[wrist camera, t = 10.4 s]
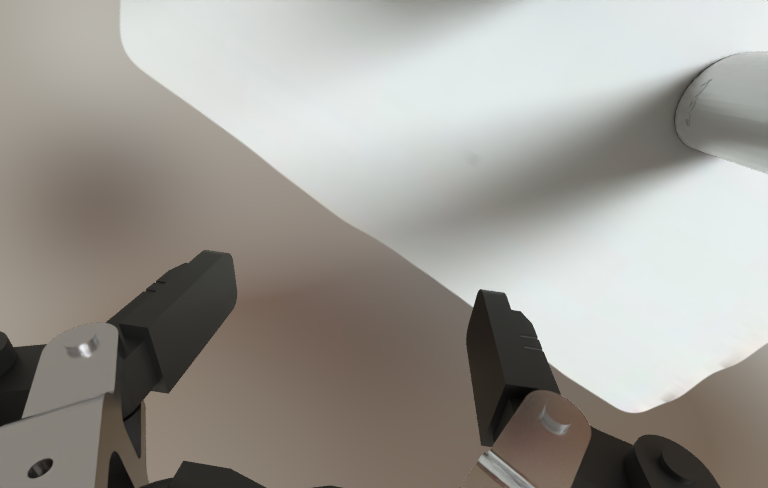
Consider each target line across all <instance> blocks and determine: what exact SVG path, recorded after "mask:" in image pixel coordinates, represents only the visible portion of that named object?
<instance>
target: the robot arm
mask: <svg viewBox="0 0 768 488" xmlns="http://www.w3.org/2000/svg"><path fill="white" fill-rule="evenodd" d="M675 126H676V131H677V134H678V136H679V138H680V139H681V140H682V141H683V143H684V144H686V145H687V146H689V147H690V148H693V149H696V150H699V151H701V152H704V153H707V154H710V155H713V156H716V157H719V158H722V159H724V160H727V161H730V162H733V163H736V164H739V165H742V166H745V167H748V168H751V169H754V170H757V171H760V172H763V173H766V174H768V52H746V53H738V54H735V55H732V56H729V57H726V58H724V59H722V60H720V61H718V62H716V63H714V64H713V65H711V66H710V67H709V68H707V69H706V70H704V71H703V72H702V73H701V74H700V75H699V76H698V77H697V78H696V79H695V80H694V81H693V82H692V83H691V84H690V86H689V87H688V88H687V89H686V91H685V93H684V94H683V96H682V98H681V100H680V102H679V105H678V107H677V110H676V117H675ZM234 273H235V272H234V265H233V259H232V256H231V255H230V254H229V253H224V252H216V251H209V250H204V251H202V252H201V253H200V254H199V255H197V256H196V257H195V258H194V259H193V260H192V261H190V262H189V263H184V264H182V265H180V266H178V267H175V268H173V269H172V270H169V271H168V272H167V273H165V274H164V275H163V276H162V277H160V278H159V279H158V280H157V281H156V283H153V284H152V285H151V286H150V287H148V288H147V289H146V292H142V293H141V294H140V295H139V296H137V297H136V298H135V299H134V300H133V301H131V302H130V303H129V304H128V305H126V306H125V307H124V308H123V309H122V310H120V311H119V312H118V313H117V314H116V315H115V316H113V317H112V318H111V319H110V320H108V321H107V322H106V323H90V324H85V325H81V326H78V327H75V328H72V329H70V330H68V331H65V332H64V333H62V334H60V335H58V336H57V337H55V338H54V339H53V340H51V341H50V342H49V343H48V344H45V345H33V346H23V347H13V346H12V344H11V342H10V341H9V339H8V337H7V336H6V335H5V334H4V333H3V332H0V488H266V487H264V486H262V485H260V484H258V483H256V482H254V481H253V480H251V479H249V478H247V477H245V476H243V475H241V474H239V473H238V472H236V471H233V470H232V469H228V468H223V467H217V466H211V465H205V464H199V463H194V462H188V461H183V463H182V464H181V466H180V468H179V469H178V471H177V473H176V474H175V476H174V477H173V478H168V479H164V480H160V481H156V482H153V483H150V484H149V481H148V475H147V467H146V407H145V403H144V400H143V399H144V398H145V397H146V396H147V395H148V393H149V392H150V391H156V392H162V393H169V392H170V391H171V390H172V388H173V387H174V386H175V385H176V383H177V382H178V381H179V379H180V378H181V377H182V375H183V374H184V373H185V371H186V370H187V369H188V367H189V366H190V365H191V364H192V362H193V361H194V359H195V358H196V357H197V356H198V354H199V353H200V352H201V350H202V349H203V348H204V347H205V345H206V344H207V343H208V341H209V340H210V339H211V338H212V336H213V335H214V334H215V332H216V331H217V330H218V328H219V327H220V326H221V325H222V323H223V322H224V320H225V319H226V318H227V317H228V315H229V314H230V313H231V311H232V310H233V308H234V306H235V303H236V299H237V287H236V280H235V274H234ZM537 338H538V337H537V335H536V332H535V330H534V327H533V325H532V323H531V322H530V321H529V320H528V319H527V318H526V317H525V316H524V315H523V313H522V312H521V311H514V310H511V308H510V305H509V302H508V299H507V296H506V294H505V293H502V292H495V291H488V290H481V289H480V290H479V291H478V294H477V297H476V300H475V304H474V307H473V311H472V315H471V318H470V322H469V325H468V329H467V338H466V341H467V342H466V345H467V352H468V359H469V366H470V373H471V380H472V386H473V393H474V400H475V406H476V414H477V420H478V427H479V434H480V441H481V445H483V446H488V447H491V449H490V450H489V452H488V453H487V454H486V453H484V454H483V455H482V456H481V457H480V458H479V460H478V461H477V462H476V464H475V465H474V467H473V468H472V470H471V471H470V473H469V474H468V475H467V477H466V478H465V480H464V481H463V483H462V484H461V486H460V487H459V488H720V486H719V485H718V483H717V482H716V480H715V478H714V477H713V475H712V474H711V473H710V471H709V470H708V469H707V468H706V467H705V466H704V464H703V463H702V462H701V461H700V460H699V459H698V458H697V457H695V456H694V455H693V454H692V453H690V452H689V451H688V450H687V449H685V448H684V447H682V446H680V445H679V444H677V443H675V442H673V441H671V440H669V439H667V438H664V437H661V436H657V435H644V436H641V437H640V438H638V440H637V441H636V442H635V444H634V445H632V444H629V443H627V442H625V441H622V440H620V439H617V438H615V437H613V436H611V435H608V434H606V433H604V432H601V431H599V430H597V429H595V428H593V427H592V426H590V425H589V422H588V420H587V418H586V417H585V415H584V414H583V413H582V411H581V410H580V409H579V408H578V407H577V406H576V405H575V404H573V403H572V402H571V401H570V400H568V399H567V398H565V397H563V396H562V395H561V393H560V391H559V389H558V386H557V384H556V381H555V379H554V376H553V374H552V371H551V369H550V367H549V364H548V362H547V359H546V357H545V354H544V352H543V351H542V347H541V344H540V342H539V340H537ZM315 488H341V487H335V486H323V487H315Z"/></svg>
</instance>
